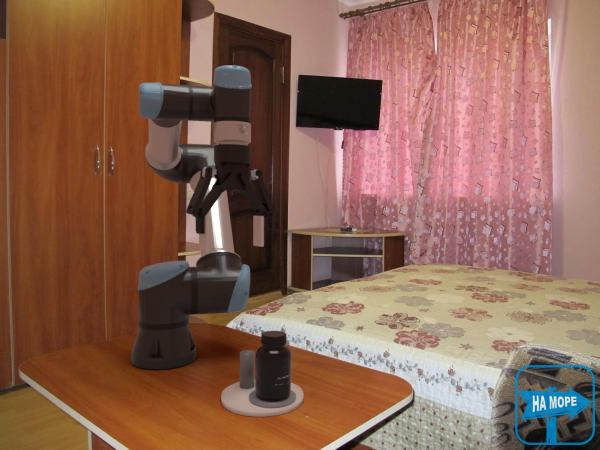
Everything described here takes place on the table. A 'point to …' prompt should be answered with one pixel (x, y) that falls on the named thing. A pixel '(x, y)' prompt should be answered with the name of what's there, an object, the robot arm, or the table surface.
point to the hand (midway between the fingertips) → (232, 248)
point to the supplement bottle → (273, 367)
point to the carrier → (245, 400)
